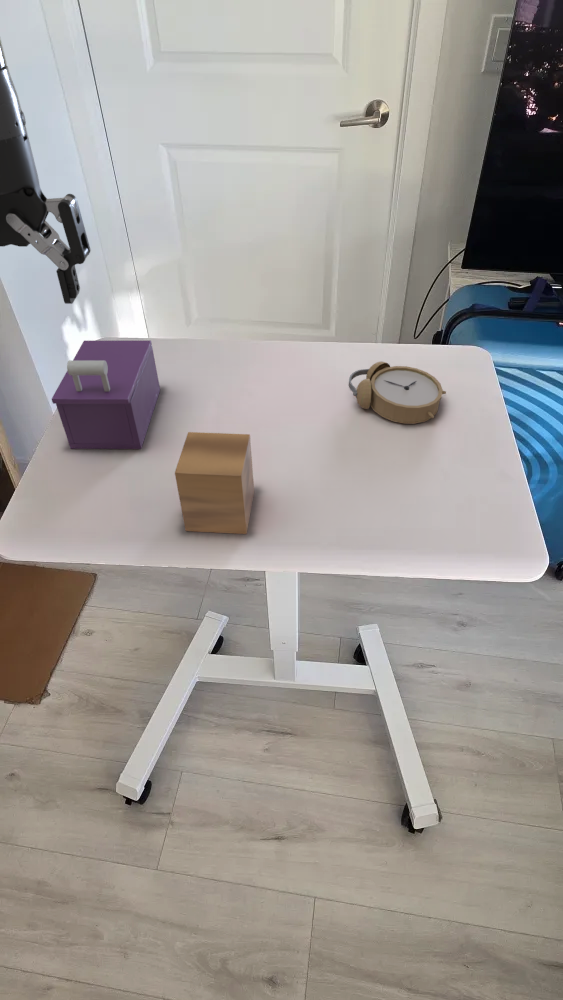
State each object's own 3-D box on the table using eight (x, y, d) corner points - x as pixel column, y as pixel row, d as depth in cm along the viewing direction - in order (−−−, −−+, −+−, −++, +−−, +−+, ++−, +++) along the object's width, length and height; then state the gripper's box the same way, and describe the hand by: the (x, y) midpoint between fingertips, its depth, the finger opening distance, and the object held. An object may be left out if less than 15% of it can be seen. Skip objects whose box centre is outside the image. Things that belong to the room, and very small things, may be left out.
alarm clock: (433, 416, 92) (341, 380, 95) (423, 441, 96) (334, 405, 99) (452, 378, 100) (366, 345, 103) (442, 402, 103) (359, 370, 106)
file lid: (129, 404, 87) (121, 370, 83) (52, 403, 87) (41, 370, 84) (152, 344, 99) (146, 312, 95) (84, 344, 99) (76, 313, 96)
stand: (246, 534, 80) (241, 475, 73) (185, 531, 81) (174, 472, 74) (254, 492, 86) (250, 434, 79) (197, 489, 87) (187, 431, 80)
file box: (141, 449, 93) (130, 402, 88) (70, 448, 94) (54, 402, 88) (160, 390, 105) (152, 345, 99) (96, 389, 105) (85, 345, 100)
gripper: (-117, 139, 53) (-49, 316, 64) (48, 139, 53) (89, 316, 64) (-78, 119, 59) (-21, 285, 70) (71, 119, 59) (105, 285, 70)
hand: (31, 300), depth 67 cm, fingers open, 8 cm apart
